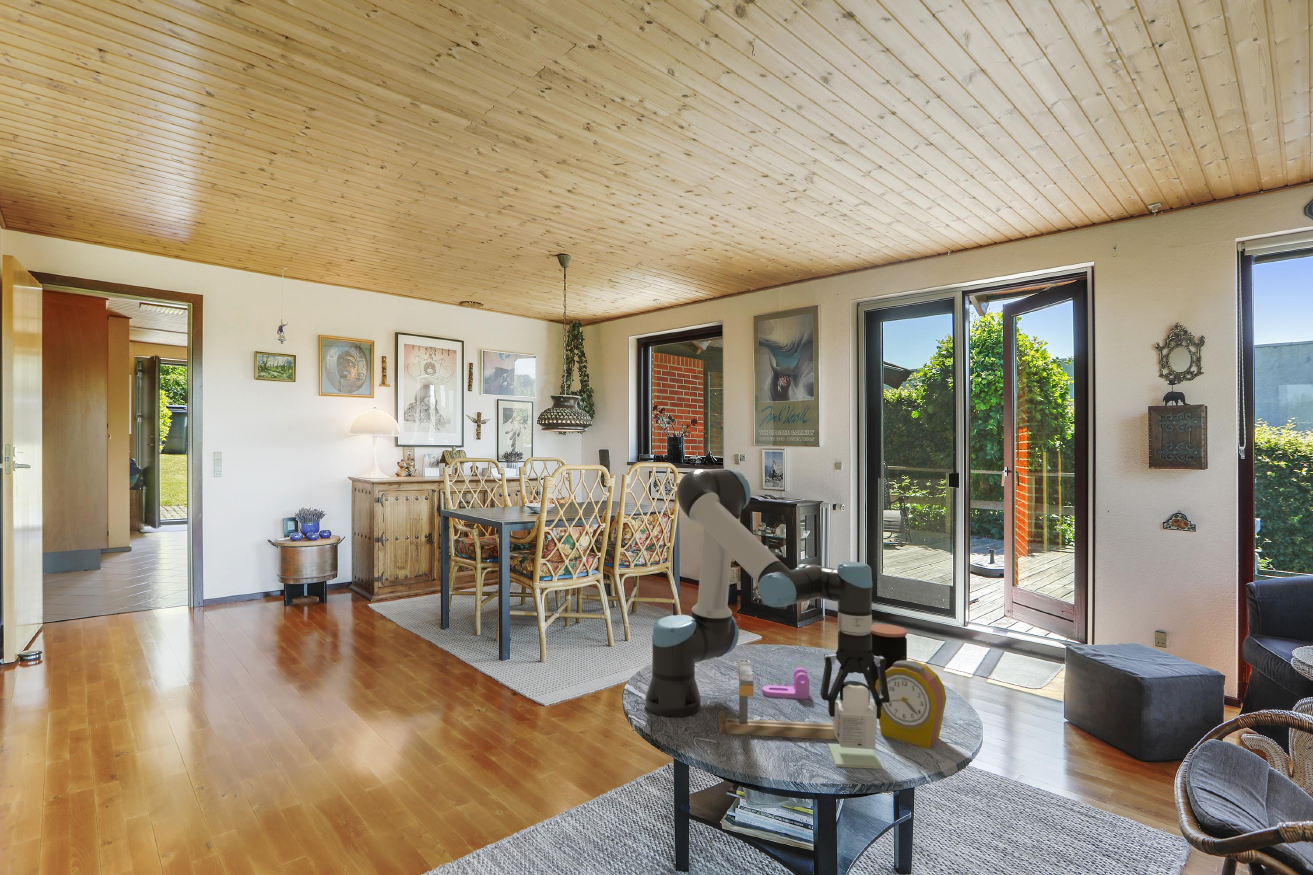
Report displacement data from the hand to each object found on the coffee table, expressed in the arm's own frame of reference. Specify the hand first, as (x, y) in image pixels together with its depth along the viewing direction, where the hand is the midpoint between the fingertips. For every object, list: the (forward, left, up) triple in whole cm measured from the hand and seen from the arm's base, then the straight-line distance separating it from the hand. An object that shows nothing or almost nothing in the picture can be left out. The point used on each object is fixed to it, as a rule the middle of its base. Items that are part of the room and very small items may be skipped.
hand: (854, 731), depth 146 cm
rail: (-15, +11, -6) cm, 19 cm away
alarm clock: (+16, +13, -6) cm, 21 cm away
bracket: (-12, +37, -6) cm, 39 cm away
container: (0, 0, -2) cm, 2 cm away
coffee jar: (+19, +44, -6) cm, 48 cm away
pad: (0, 0, -6) cm, 6 cm away
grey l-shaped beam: (-25, +4, -3) cm, 25 cm away
